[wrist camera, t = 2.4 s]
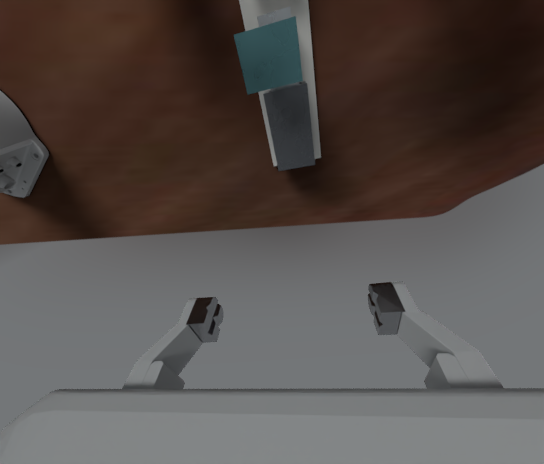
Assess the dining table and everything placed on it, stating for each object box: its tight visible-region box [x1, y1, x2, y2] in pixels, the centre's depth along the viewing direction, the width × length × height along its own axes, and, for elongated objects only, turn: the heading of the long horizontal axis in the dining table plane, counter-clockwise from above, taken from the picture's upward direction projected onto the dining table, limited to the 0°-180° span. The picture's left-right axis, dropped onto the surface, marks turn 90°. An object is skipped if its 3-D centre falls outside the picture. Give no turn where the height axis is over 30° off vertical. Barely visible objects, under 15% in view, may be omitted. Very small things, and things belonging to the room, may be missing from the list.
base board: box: [239, 0, 321, 166], centre depth 29 cm, size 30×8×1 cm, turn 12°
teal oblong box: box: [234, 6, 303, 94], centre depth 23 cm, size 16×4×20 cm, turn 12°
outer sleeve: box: [263, 81, 315, 171], centre depth 32 cm, size 10×5×5 cm, turn 12°
